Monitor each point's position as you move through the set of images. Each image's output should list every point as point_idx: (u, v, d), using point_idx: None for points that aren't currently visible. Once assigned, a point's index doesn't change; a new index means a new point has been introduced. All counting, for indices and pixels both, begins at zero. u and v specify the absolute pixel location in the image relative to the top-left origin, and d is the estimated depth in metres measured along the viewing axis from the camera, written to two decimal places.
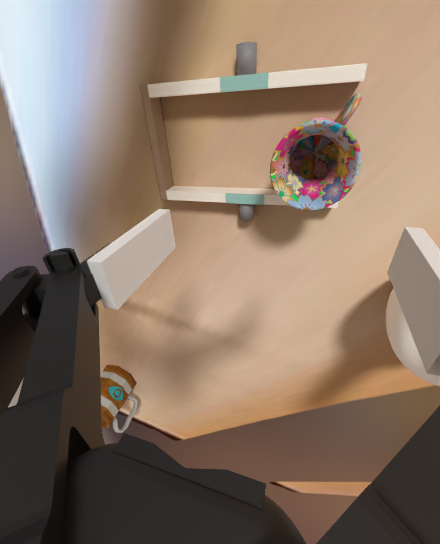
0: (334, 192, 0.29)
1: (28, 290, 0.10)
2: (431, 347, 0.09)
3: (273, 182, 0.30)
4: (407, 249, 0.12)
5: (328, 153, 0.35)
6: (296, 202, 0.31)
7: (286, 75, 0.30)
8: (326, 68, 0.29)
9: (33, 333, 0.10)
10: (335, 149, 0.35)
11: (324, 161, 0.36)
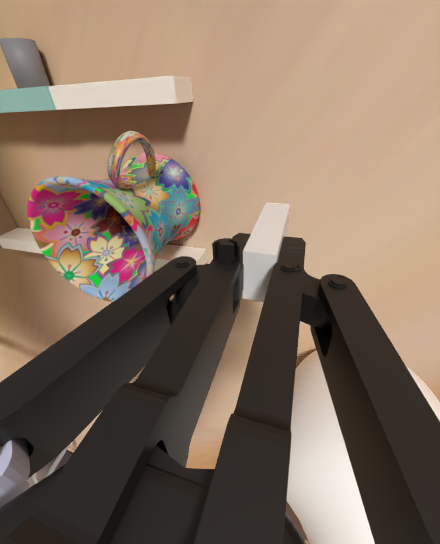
0: (140, 279, 0.19)
1: (179, 284, 0.10)
2: None
3: (49, 260, 0.19)
4: None
5: None
6: (94, 287, 0.20)
7: (71, 91, 0.19)
8: (120, 82, 0.18)
9: (168, 326, 0.10)
10: None
11: None
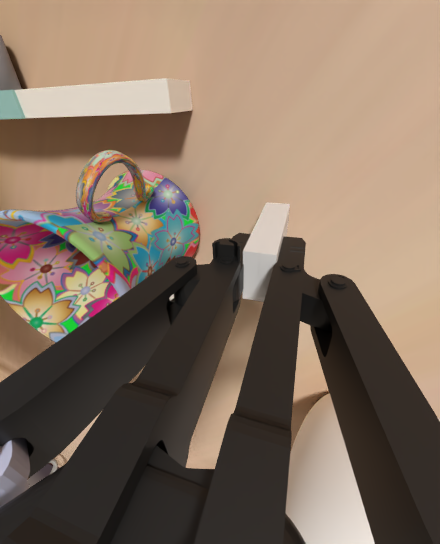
0: None
1: (179, 284, 0.10)
2: None
3: (10, 305, 0.15)
4: None
5: None
6: None
7: (42, 96, 0.15)
8: (101, 85, 0.14)
9: (169, 326, 0.10)
10: None
11: None
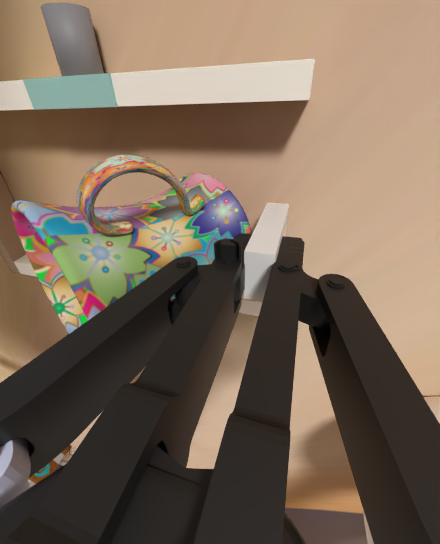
0: None
1: (180, 284, 0.10)
2: None
3: (42, 284, 0.16)
4: None
5: None
6: None
7: (145, 81, 0.14)
8: (225, 68, 0.12)
9: (169, 326, 0.10)
10: None
11: None
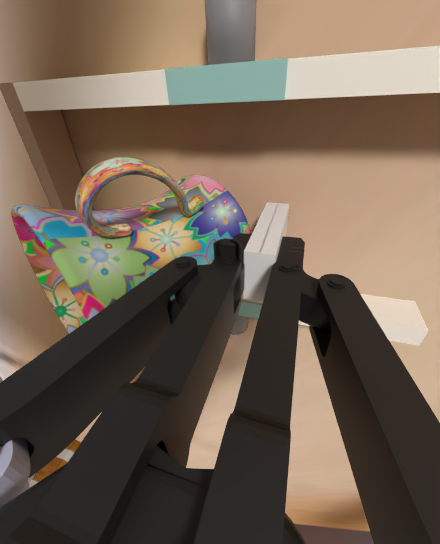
0: None
1: (180, 284, 0.10)
2: None
3: (43, 288, 0.16)
4: None
5: None
6: None
7: (336, 67, 0.11)
8: None
9: (169, 326, 0.10)
10: None
11: None
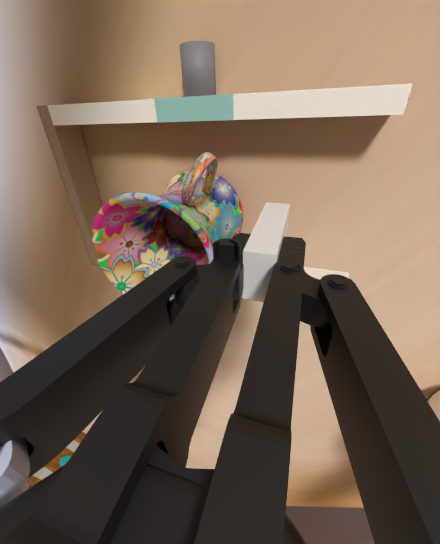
0: None
1: (179, 284, 0.10)
2: None
3: (104, 271, 0.19)
4: None
5: None
6: None
7: (263, 100, 0.17)
8: (335, 90, 0.16)
9: (168, 326, 0.10)
10: None
11: None
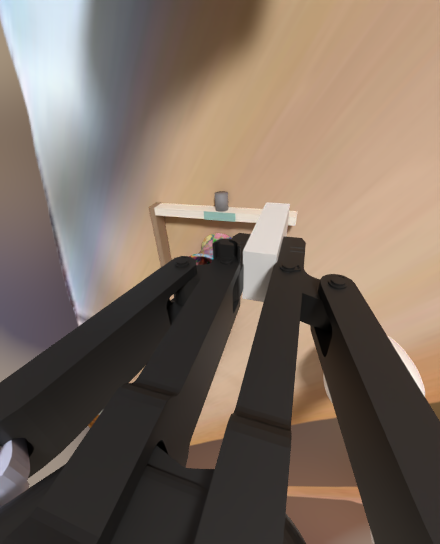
0: None
1: (179, 284, 0.10)
2: None
3: None
4: None
5: None
6: None
7: (246, 216, 0.45)
8: None
9: (168, 326, 0.10)
10: None
11: None
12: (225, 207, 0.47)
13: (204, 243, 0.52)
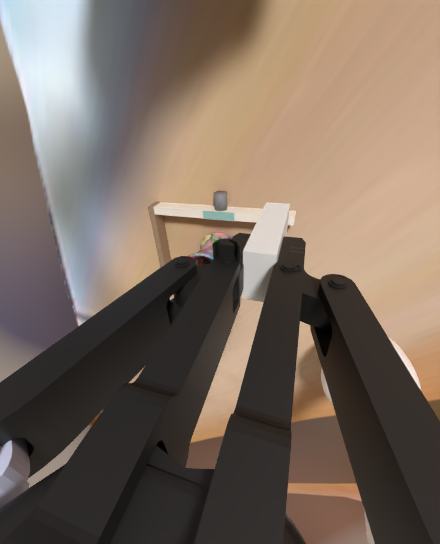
0: None
1: (179, 284, 0.10)
2: None
3: None
4: None
5: None
6: None
7: (245, 216, 0.46)
8: None
9: (168, 326, 0.10)
10: None
11: None
12: (224, 207, 0.47)
13: (203, 242, 0.52)
